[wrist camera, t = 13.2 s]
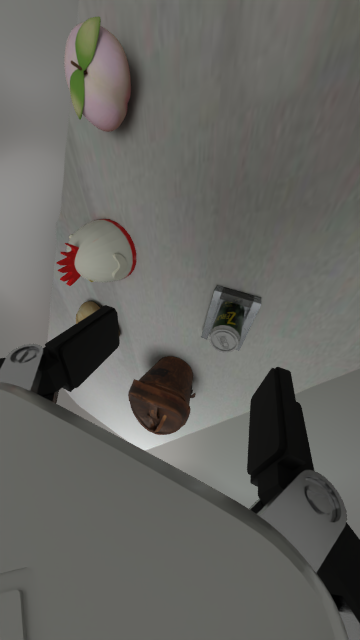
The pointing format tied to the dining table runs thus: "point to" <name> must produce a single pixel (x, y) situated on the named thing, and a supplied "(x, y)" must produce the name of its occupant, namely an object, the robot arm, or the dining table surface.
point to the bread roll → (86, 311)
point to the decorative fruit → (97, 75)
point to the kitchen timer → (99, 253)
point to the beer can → (227, 327)
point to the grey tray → (240, 298)
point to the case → (163, 396)
